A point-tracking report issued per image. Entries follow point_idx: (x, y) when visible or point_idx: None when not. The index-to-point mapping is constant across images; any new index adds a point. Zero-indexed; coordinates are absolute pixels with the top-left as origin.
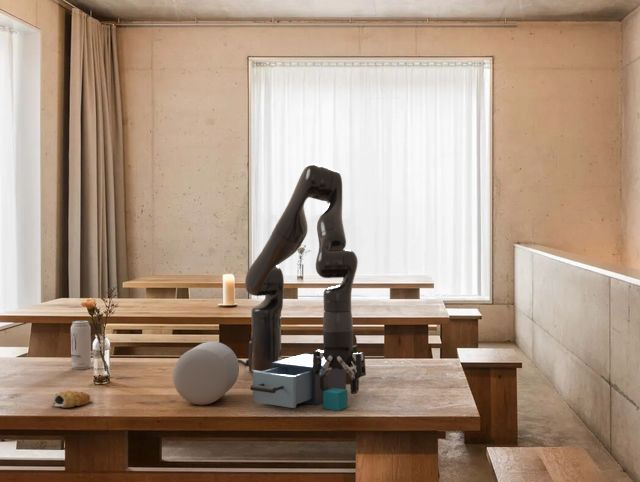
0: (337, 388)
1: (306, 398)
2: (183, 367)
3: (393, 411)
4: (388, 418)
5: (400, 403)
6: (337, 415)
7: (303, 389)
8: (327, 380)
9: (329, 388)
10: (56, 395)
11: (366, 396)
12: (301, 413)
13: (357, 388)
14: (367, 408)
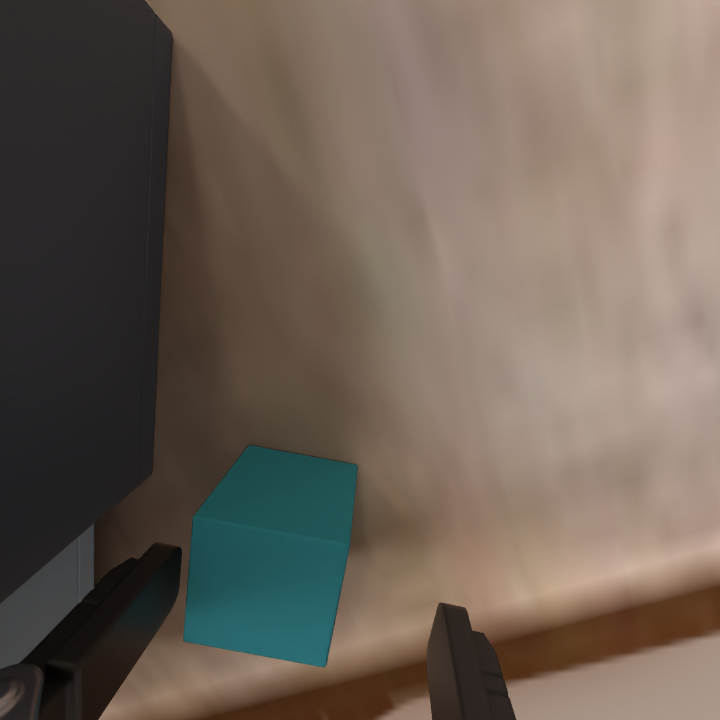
0: (120, 166)
1: (82, 542)
2: None
3: (673, 470)
4: (663, 622)
5: (700, 222)
6: (372, 642)
7: (15, 640)
8: (116, 631)
9: (98, 312)
10: None
11: (373, 72)
12: (183, 656)
13: (487, 671)
14: (489, 451)
